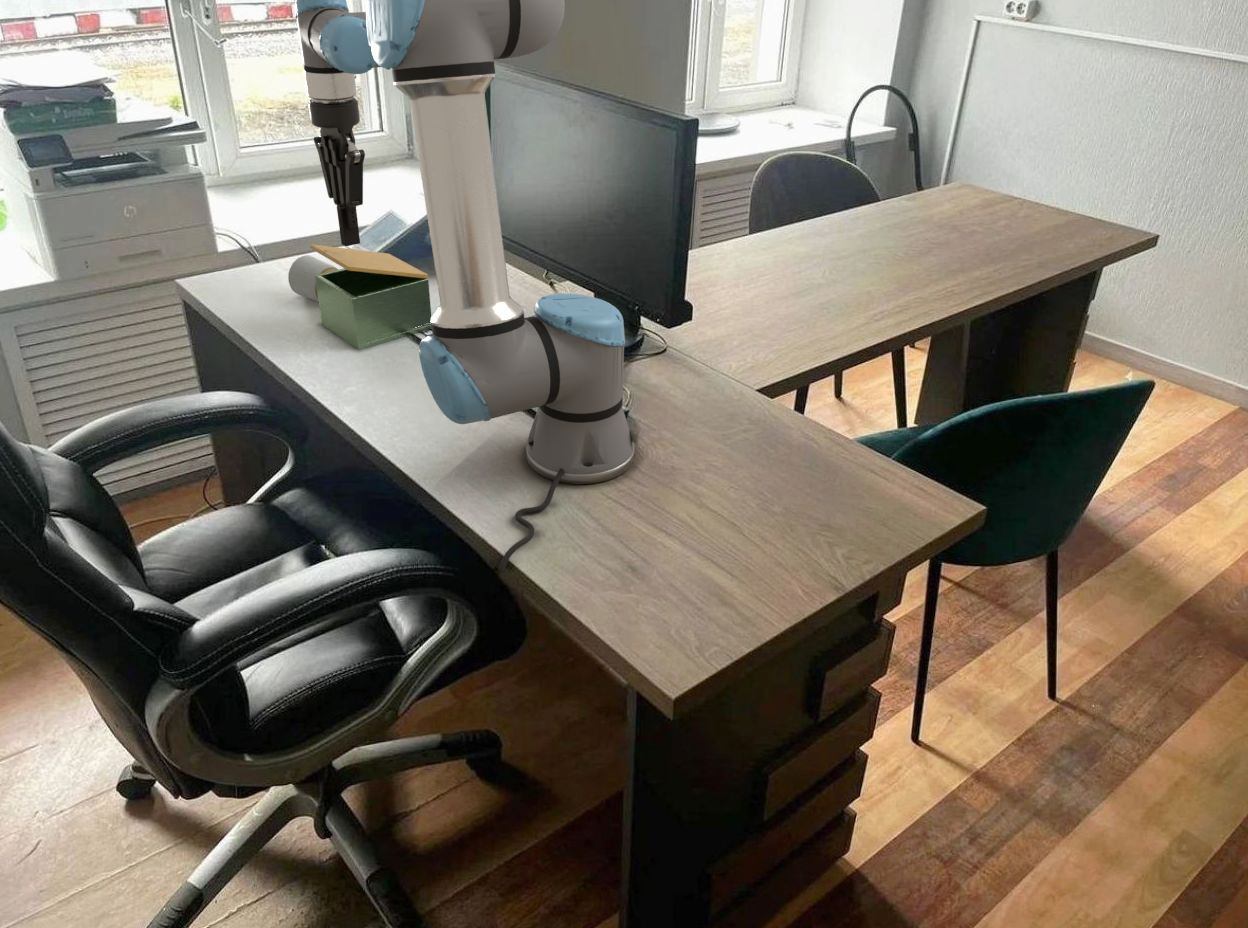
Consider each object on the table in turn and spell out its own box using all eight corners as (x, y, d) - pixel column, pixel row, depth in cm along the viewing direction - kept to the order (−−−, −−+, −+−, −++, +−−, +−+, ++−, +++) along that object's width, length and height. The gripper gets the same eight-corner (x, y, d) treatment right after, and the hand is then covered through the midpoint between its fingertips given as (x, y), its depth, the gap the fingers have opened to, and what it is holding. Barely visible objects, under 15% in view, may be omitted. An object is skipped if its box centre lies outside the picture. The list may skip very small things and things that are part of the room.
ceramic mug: (319, 310, 185) (314, 270, 181) (290, 299, 189) (284, 260, 185) (363, 294, 192) (359, 255, 188) (334, 284, 196) (329, 246, 192)
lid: (347, 270, 163) (348, 266, 163) (309, 248, 172) (310, 244, 172) (427, 278, 174) (428, 274, 174) (388, 257, 183) (389, 253, 182)
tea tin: (358, 349, 171) (352, 298, 166) (321, 324, 179) (314, 275, 174) (432, 328, 179) (428, 279, 174) (394, 305, 188) (388, 257, 183)
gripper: (374, 102, 155) (390, 249, 167) (335, 88, 163) (352, 229, 175) (330, 108, 151) (349, 259, 163) (291, 93, 159) (312, 238, 171)
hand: (350, 243), depth 169 cm, fingers closed
